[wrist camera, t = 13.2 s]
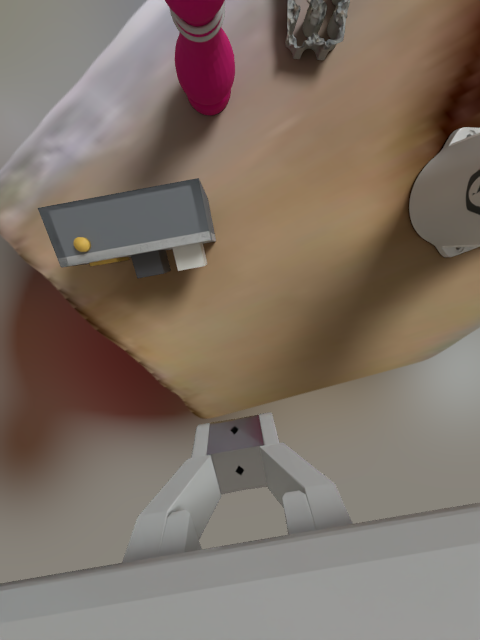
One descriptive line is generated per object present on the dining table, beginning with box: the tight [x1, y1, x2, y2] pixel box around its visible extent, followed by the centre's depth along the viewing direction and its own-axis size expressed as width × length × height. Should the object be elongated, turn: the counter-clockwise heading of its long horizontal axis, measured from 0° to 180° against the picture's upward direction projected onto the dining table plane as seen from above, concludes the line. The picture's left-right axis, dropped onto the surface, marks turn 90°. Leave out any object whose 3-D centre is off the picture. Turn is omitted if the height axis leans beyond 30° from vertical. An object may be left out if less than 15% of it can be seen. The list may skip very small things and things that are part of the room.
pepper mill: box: [165, 0, 235, 115], centre depth 24 cm, size 7×7×20 cm
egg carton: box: [285, 0, 350, 60], centre depth 30 cm, size 11×8×4 cm
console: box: [38, 178, 216, 267], centre depth 33 cm, size 18×6×13 cm, turn 100°
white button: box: [172, 242, 207, 271], centre depth 34 cm, size 4×4×4 cm
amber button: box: [89, 256, 129, 266], centre depth 33 cm, size 4×4×4 cm
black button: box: [131, 249, 171, 278], centre depth 34 cm, size 4×4×4 cm
